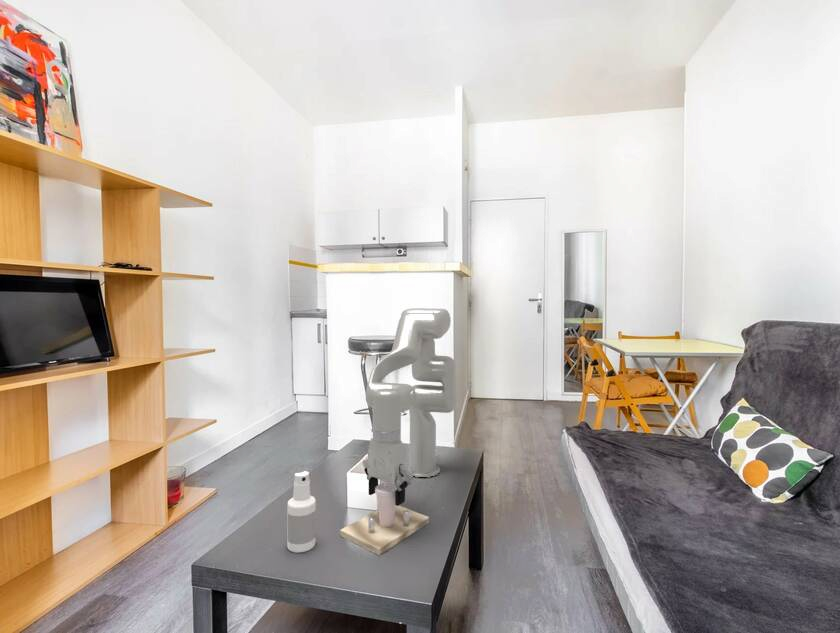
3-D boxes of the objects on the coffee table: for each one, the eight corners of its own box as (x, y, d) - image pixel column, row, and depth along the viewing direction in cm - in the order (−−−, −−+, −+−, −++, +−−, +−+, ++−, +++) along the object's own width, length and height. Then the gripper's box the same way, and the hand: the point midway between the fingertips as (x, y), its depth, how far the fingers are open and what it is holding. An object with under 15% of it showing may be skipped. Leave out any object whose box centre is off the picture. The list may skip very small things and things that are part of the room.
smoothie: (369, 523, 112) (370, 471, 112) (387, 515, 117) (388, 465, 117) (385, 532, 108) (386, 478, 108) (403, 523, 113) (404, 471, 112)
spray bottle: (291, 556, 100) (291, 481, 99) (284, 542, 105) (284, 471, 105) (319, 548, 103) (319, 475, 103) (310, 535, 109) (311, 466, 109)
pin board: (391, 507, 125) (391, 490, 125) (429, 522, 116) (429, 504, 116) (339, 535, 109) (340, 516, 109) (379, 555, 100) (379, 534, 100)
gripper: (354, 432, 115) (353, 494, 115) (402, 445, 104) (401, 513, 104) (373, 426, 121) (373, 485, 121) (420, 438, 110) (420, 502, 110)
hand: (386, 498), depth 113 cm, fingers open, 9 cm apart
